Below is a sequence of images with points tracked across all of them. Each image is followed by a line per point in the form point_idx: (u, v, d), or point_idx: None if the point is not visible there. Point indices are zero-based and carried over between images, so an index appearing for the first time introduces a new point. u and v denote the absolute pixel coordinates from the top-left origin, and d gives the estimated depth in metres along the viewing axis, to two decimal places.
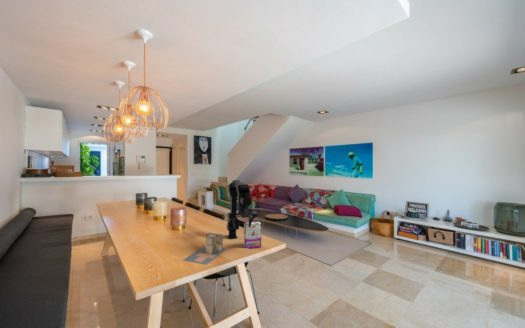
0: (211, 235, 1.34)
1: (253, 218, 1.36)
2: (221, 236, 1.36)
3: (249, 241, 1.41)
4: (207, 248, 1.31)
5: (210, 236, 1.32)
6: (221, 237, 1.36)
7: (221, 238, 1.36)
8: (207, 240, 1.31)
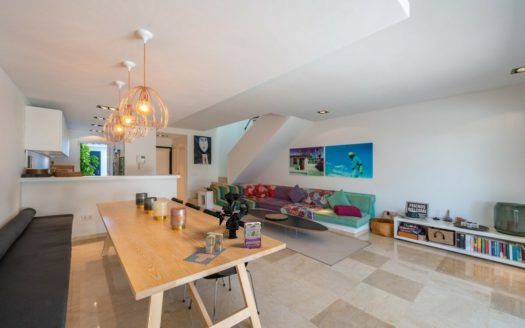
0: (211, 235, 1.34)
1: (231, 216, 1.50)
2: (221, 236, 1.36)
3: (249, 241, 1.41)
4: (207, 248, 1.31)
5: (210, 236, 1.32)
6: (221, 237, 1.36)
7: (221, 238, 1.36)
8: (207, 240, 1.31)
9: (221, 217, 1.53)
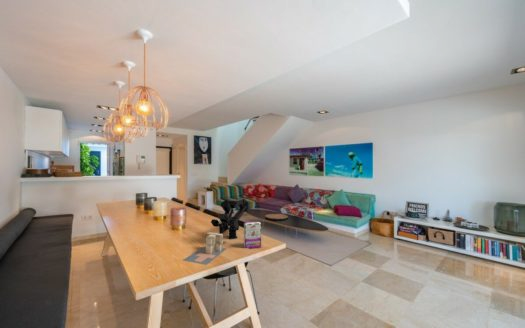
0: (211, 235, 1.34)
1: (224, 225, 1.46)
2: (221, 236, 1.36)
3: (249, 241, 1.41)
4: (207, 248, 1.31)
5: (210, 236, 1.32)
6: (221, 237, 1.36)
7: (221, 238, 1.36)
8: (207, 240, 1.31)
9: (221, 226, 1.47)
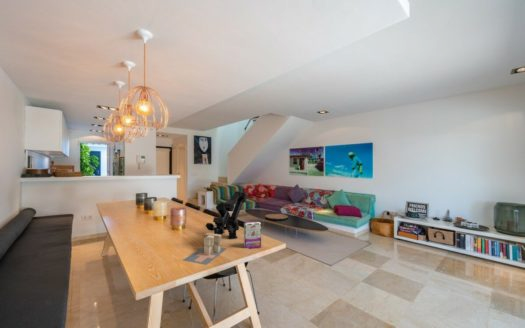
0: (209, 236, 1.32)
1: (219, 229, 1.39)
2: (220, 237, 1.34)
3: (249, 241, 1.41)
4: (205, 249, 1.29)
5: (208, 237, 1.31)
6: (220, 238, 1.34)
7: (220, 239, 1.34)
8: (205, 241, 1.29)
9: (216, 230, 1.41)
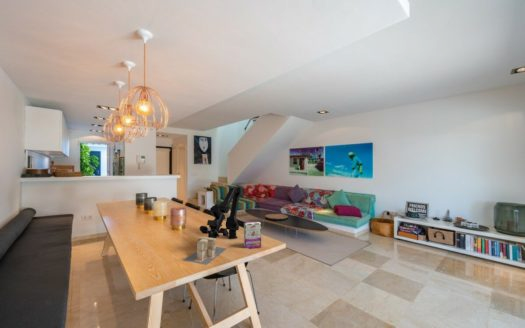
0: (203, 240, 1.26)
1: (214, 232, 1.33)
2: (214, 241, 1.27)
3: (249, 241, 1.41)
4: (198, 254, 1.22)
5: (202, 241, 1.24)
6: (214, 242, 1.27)
7: (214, 243, 1.27)
8: (198, 245, 1.22)
9: (210, 233, 1.34)
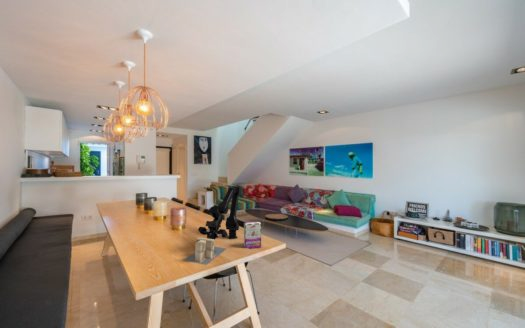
0: (201, 241, 1.24)
1: (213, 233, 1.31)
2: (212, 242, 1.26)
3: (249, 241, 1.41)
4: (197, 255, 1.20)
5: (200, 242, 1.22)
6: (212, 243, 1.26)
7: (212, 244, 1.26)
8: (197, 246, 1.20)
9: (209, 235, 1.33)
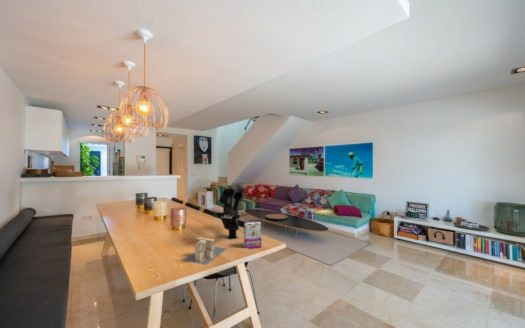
0: (201, 241, 1.24)
1: (230, 219, 1.47)
2: (212, 242, 1.26)
3: (249, 241, 1.41)
4: (197, 255, 1.20)
5: (200, 242, 1.22)
6: (212, 243, 1.26)
7: (212, 244, 1.26)
8: (197, 246, 1.20)
9: (226, 220, 1.46)
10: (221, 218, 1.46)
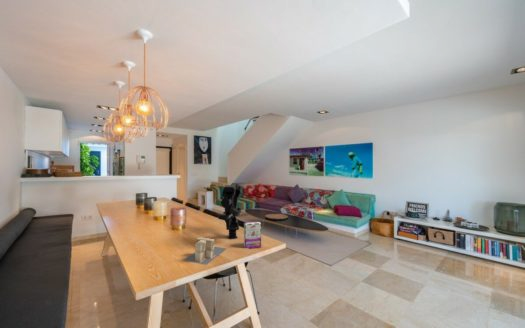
0: (201, 241, 1.24)
1: (233, 217, 1.50)
2: (212, 242, 1.26)
3: (249, 241, 1.41)
4: (197, 255, 1.20)
5: (200, 242, 1.22)
6: (212, 243, 1.26)
7: (212, 244, 1.26)
8: (197, 246, 1.20)
9: (229, 218, 1.48)
10: None
